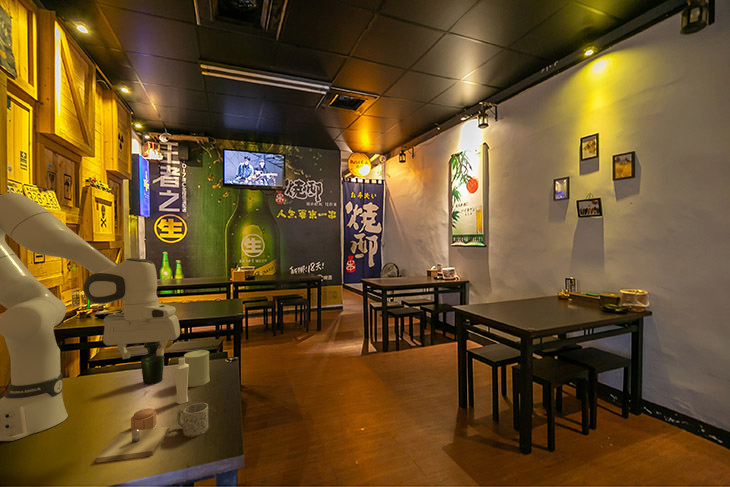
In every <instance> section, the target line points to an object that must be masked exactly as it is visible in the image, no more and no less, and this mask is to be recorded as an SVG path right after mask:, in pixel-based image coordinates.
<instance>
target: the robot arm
mask: <svg viewBox="0 0 730 487" xmlns="http://www.w3.org/2000/svg"><path fill="white" fill-rule="evenodd" d="M6 235H7V236H8V237H9V238H11V239H12V240H13V241H14V242H16V243H17V244H18V245H19V246H21V247H23V248H24V249H26V250H28V251H31V252H33V253H34V254H37V255H42V256H48V257H55V258H60V259H66V260H69V261H72V262H74V263H77V264H79V265H80V266H82V267H83V268H84V269H86V270H87V271H88V272H90V273H92V274H91V275H89V276H88V277H87V278H86V279H85V280H84V282H83V286H82V290H83V294H84V296H85V297H86V299H87V301H90V302H91V303H93V304H98V305H105V304H107V305H108V304H111V303H114V302H118V301H122V303H123V312H118V313H116V312H115V313H113V312H112V313H109V314H108V315H106V316H105V317H103V318H104V319H103V325H104V326H103V327H104V330H103V338H102V339H103V344H105V346H107V347H108V346H117V350H118V351H119V352H120V353H121V355H122V357H121V358H122V360H127V359H130V358H131V357H132V355H131V350H130V351H129V350H127V348H126V347H127V345H129V344H132V345H133V344H143V343H144V344H146V343H148V342H160V348H157V351H156V353H157V354H156V355H157V356H163V355H164V354H165V348H166V347H167V344H168V342H169V341H170V342H171V341H175V340H177V339H178V338H179V337H180V336H181V335H180V334H181V327H180V326H181V325H180V322H179V318H178V316H177V315H176V314H175V313H176V311H177V308H176V306H172V305H168V304H164V303H160V302H159V297H158V295H157V289H158V275H157V269H156V265H155V264H154V262H153V261H152V260H150V259H146V258H134V257H133V258H130V257H129V258H125V259H124V260H123V261H122V262H120V263H117V262H115V261H114V260H112V259H111V258H110V257H108V256H107V255H106V254H105V253H103V252H102V251H101V250H99V249H98V248H96V247H95V246H94V245H92V244H91V243H89V242H87V240H84V238H82V237H81V236H80V235H79V234H77V233H76V232H74V231H73V230H72V229H70V227H68V225H66V224H65V223H64V222H63V221H61V220H60V219H59V218H58V217H57V216H55V215H54V214H53V213H51V212H50V211H49V210H48V209H47V208H45V207H44V206H42V204H39V203H37V201H34V200H33V199H31V198H30V197H27V195H24V194H21V193H19V192H7V193H0V305H1V306H3V307H4V308H5V311H4V312H3V313H2V314H1V315H0V335H1V336H2V337H3V338H4V340H5V343H6V344H5V345H6V347H7V350H8V354H9V357H10V380H11V381H10V383H8V384H6V385H5V386H3V387H1V388H0V390H1V391H0V393H2V392H5V393H4V394H3V397H1V398H0V442H12V441H17V440H19V439H21V438H24V437H27V436H29V435H32V434H35V433H38V432H39V433H40V432H43V431H45V430H47V429H50V428H53V427H55V426H57V425H59V424H61V423H62V422H64V421H65V420H67V418H68V417H69V414H68V411H67V409H66V407H65V406H66V405H65V404H64V397H63V388H64V387H63V386H64V384H63V383H64V382H63V381H64V380H63V373H62V372H61V349H60V347H59V346H58V344H57V341H56V336H55V330H54V329H55V327H56V326H58V325H59V324H60V323H61V322H62V321H63V319H65V316H66V313H67V305H66V303H65V302H64V301H63V300H62V299H60V298H58V297H56V296H55V295H54V293H52V292H51V291H50V289H49V288H48V287H46V286H45V285H44V284H42V283H41V281H39V280H38V279H37V278H36V277H35V276H34V275H33V274H32V273H31V271H30V270H29V269H28V268H27V266H26V265H25V264H24V263H23V262H22V260H21V259H20V258H19V257H18V255H17V254H16V253H15V251H13V249H12V248H11V247H10V246H9V245H8V243H7V241H6ZM164 356H165V355H164Z"/></svg>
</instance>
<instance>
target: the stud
mask: <svg viewBox="0 0 730 487" xmlns="http://www.w3.org/2000/svg"><path fill="white" fill-rule="evenodd" d="M139 440H140V431H139V428H137V429H133V430H132V443H136V442H138V441H139Z"/></svg>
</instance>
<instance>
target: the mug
mask: <svg viewBox="0 0 730 487" xmlns="http://www.w3.org/2000/svg"><path fill="white" fill-rule="evenodd" d="M176 413H177V414H176V420H177V421H176V422H177V424H178V425H179V426H180V427H182V432H183V436H184V437H188V438H194V437H198V436H201V435H202V434H205V433H206V432H207V431H208V430H209V404H208V403H206V402H197V403H192V404H189V405H187V406H186V407H184V408H179V409H177V412H176Z"/></svg>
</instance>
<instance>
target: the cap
mask: <svg viewBox="0 0 730 487" xmlns="http://www.w3.org/2000/svg"><path fill="white" fill-rule="evenodd" d="M156 426H157V411H155V410H154V409H153V408H142V409H140V410H137V411H136V412H134V414H133V416H132V417H131V418H130V431H132V430H133V429H137V428H139V430H145V429H154V428H155V427H156Z"/></svg>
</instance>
